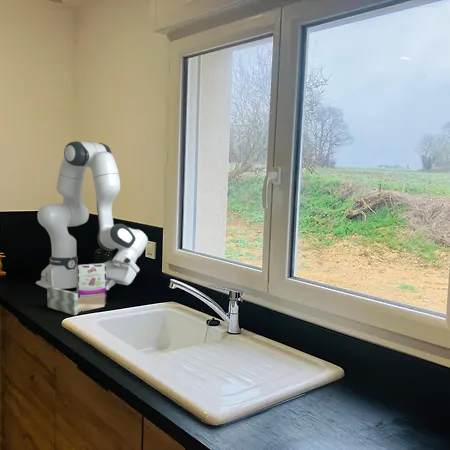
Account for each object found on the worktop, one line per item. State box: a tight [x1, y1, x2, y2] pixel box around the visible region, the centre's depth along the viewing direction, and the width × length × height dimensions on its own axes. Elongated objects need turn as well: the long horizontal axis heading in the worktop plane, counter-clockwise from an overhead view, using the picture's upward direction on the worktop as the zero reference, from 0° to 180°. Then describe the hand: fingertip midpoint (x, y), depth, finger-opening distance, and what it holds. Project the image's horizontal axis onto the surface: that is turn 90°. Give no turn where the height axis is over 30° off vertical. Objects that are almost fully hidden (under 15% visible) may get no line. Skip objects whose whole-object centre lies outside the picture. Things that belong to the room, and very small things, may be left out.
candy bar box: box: [76, 262, 107, 305], centre depth 206 cm, size 11×5×16 cm, turn 115°
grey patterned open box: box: [46, 286, 106, 316], centre depth 202 cm, size 18×16×8 cm
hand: (104, 289), depth 211 cm, fingers closed
